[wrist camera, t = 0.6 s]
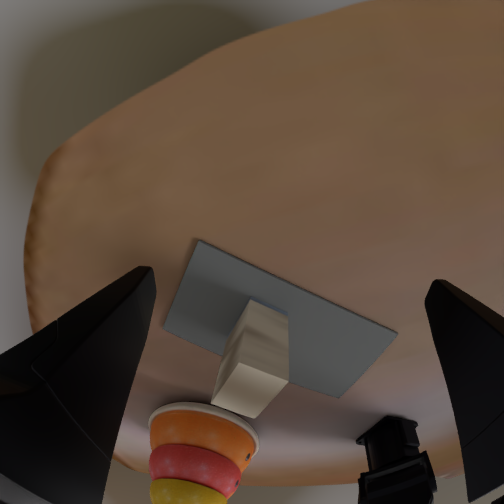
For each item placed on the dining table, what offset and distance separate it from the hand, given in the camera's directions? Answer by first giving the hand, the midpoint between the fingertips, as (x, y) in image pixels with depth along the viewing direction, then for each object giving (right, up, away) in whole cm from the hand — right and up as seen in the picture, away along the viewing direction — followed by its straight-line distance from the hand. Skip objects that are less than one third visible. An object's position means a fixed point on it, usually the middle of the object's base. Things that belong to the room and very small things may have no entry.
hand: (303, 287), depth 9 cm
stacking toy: (-8, -22, +25) cm, 34 cm away
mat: (+1, -6, +18) cm, 19 cm away
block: (-1, -5, +17) cm, 18 cm away
